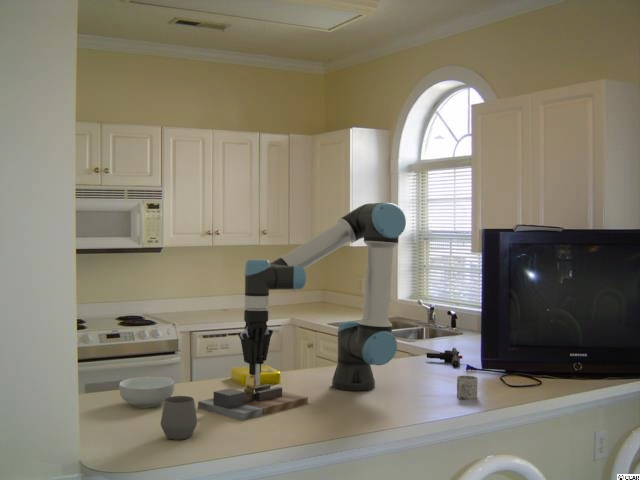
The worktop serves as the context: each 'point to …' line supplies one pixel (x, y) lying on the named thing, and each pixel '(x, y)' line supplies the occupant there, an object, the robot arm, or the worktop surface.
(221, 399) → the bolt housing
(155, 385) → the cereal bowl
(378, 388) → the worktop surface
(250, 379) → the bolt
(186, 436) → the cup
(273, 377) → the element tile
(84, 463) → the worktop surface
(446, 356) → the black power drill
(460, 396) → the mug
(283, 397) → the door and jamb
